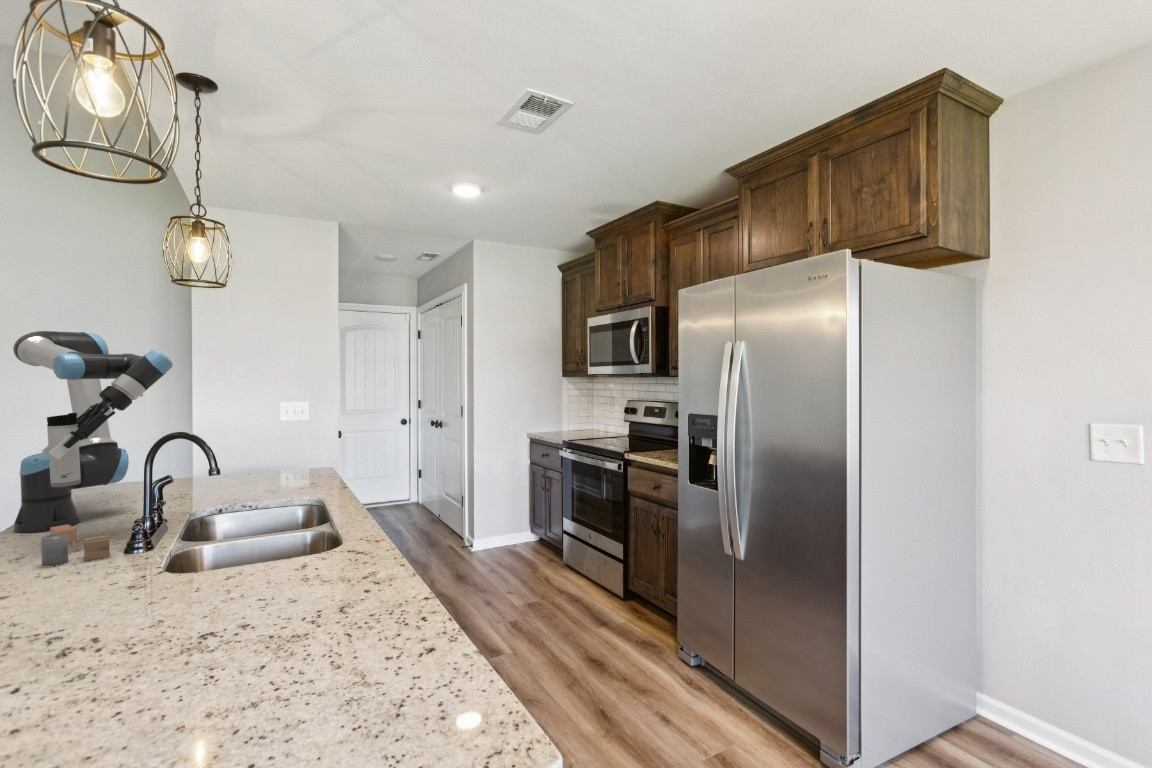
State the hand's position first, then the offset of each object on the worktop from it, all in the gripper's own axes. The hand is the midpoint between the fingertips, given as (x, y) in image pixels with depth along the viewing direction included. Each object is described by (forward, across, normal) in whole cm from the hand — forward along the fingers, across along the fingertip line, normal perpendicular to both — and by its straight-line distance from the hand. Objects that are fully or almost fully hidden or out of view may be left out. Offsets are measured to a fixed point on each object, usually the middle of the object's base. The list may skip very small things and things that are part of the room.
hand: (49, 455), depth 154 cm
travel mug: (+4, 0, -9) cm, 9 cm away
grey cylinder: (+20, -14, -17) cm, 30 cm away
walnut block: (+15, -17, -22) cm, 32 cm away
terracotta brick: (+16, +9, -22) cm, 28 cm away
